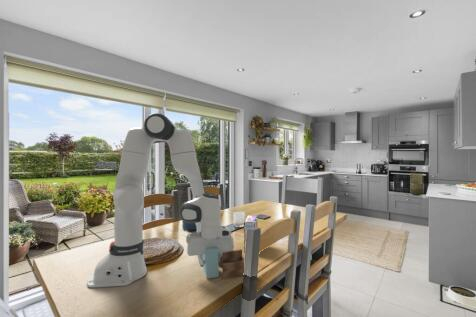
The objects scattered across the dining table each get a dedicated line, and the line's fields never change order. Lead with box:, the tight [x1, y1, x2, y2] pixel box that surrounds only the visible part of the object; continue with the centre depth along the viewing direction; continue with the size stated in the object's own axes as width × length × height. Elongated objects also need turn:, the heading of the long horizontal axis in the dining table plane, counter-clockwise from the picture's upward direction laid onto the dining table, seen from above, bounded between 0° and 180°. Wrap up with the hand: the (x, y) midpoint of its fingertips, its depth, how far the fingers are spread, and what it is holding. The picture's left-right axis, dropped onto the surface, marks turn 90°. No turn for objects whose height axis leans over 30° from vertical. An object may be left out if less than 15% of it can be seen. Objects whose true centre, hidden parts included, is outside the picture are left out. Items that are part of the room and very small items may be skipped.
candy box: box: [243, 215, 258, 253], centre depth 132 cm, size 14×6×16 cm, turn 168°
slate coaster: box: [197, 254, 204, 267], centre depth 119 cm, size 9×13×1 cm
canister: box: [181, 220, 197, 232], centre depth 167 cm, size 13×13×18 cm
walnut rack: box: [218, 249, 245, 280], centre depth 108 cm, size 12×13×6 cm
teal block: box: [203, 246, 220, 279], centre depth 105 cm, size 5×9×12 cm, turn 16°
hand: (210, 262), depth 105 cm, fingers closed on teal block, 5 cm apart
